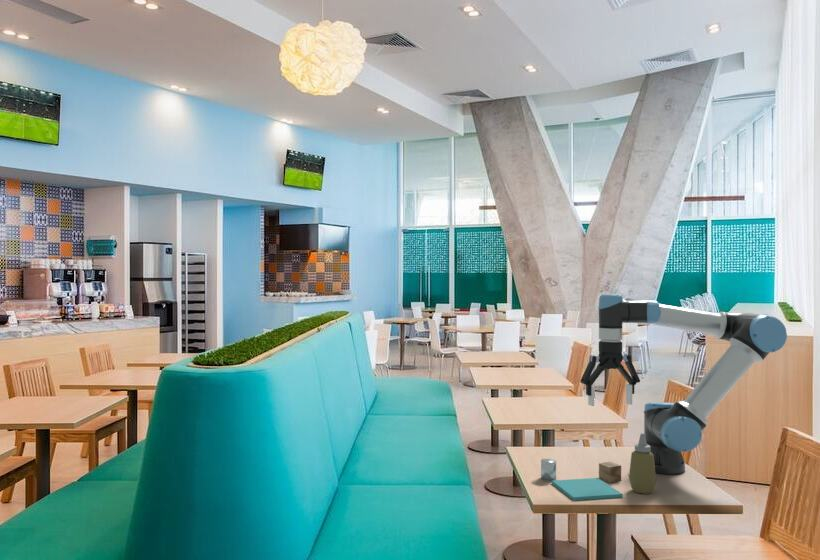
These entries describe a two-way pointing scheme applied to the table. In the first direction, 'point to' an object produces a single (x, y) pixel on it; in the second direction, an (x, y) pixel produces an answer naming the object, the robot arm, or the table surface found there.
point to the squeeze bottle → (642, 468)
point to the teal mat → (586, 489)
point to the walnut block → (610, 471)
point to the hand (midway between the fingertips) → (610, 404)
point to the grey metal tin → (548, 469)
